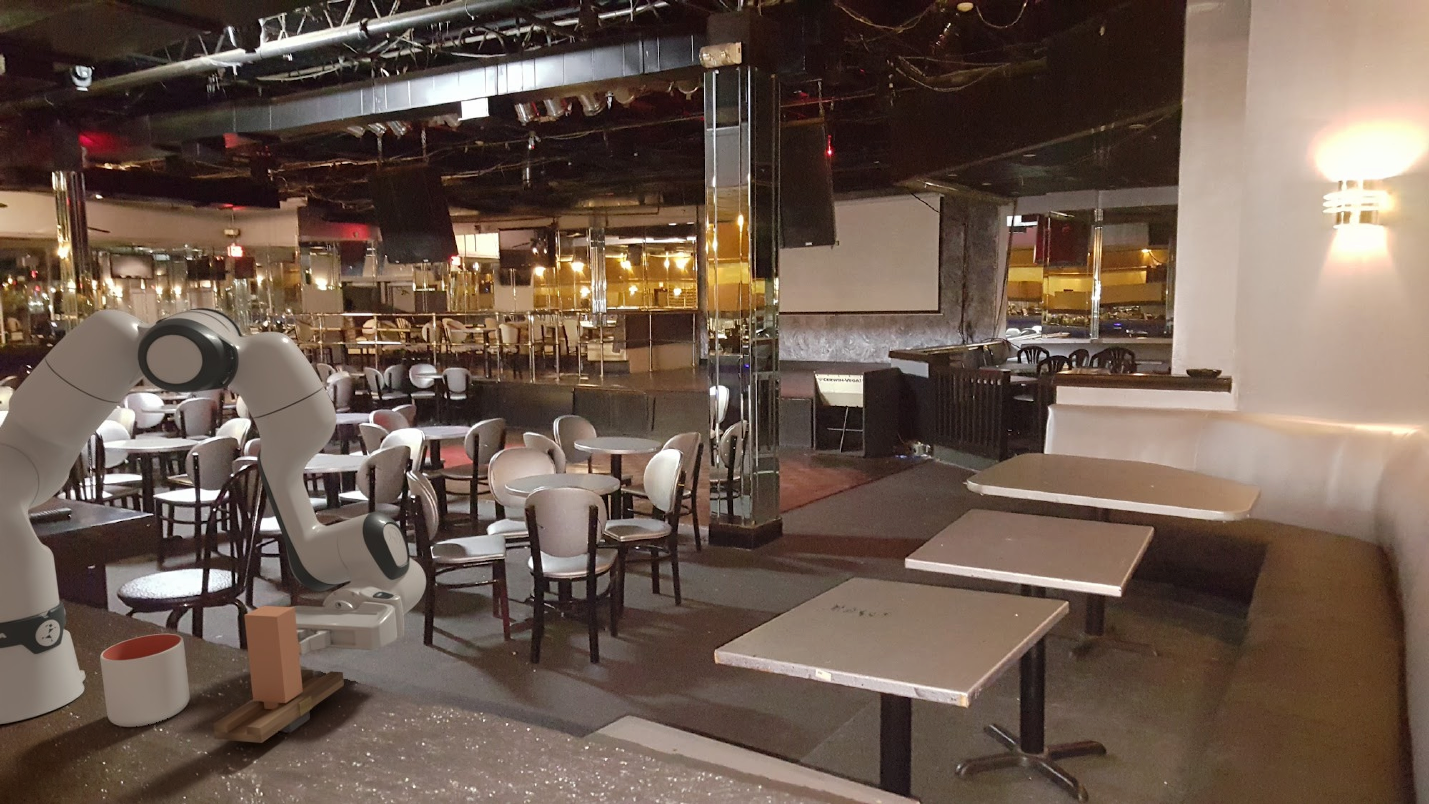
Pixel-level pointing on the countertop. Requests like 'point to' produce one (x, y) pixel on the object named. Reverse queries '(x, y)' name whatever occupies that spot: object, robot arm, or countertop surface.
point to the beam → (277, 711)
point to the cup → (145, 679)
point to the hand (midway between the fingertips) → (292, 649)
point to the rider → (273, 655)
